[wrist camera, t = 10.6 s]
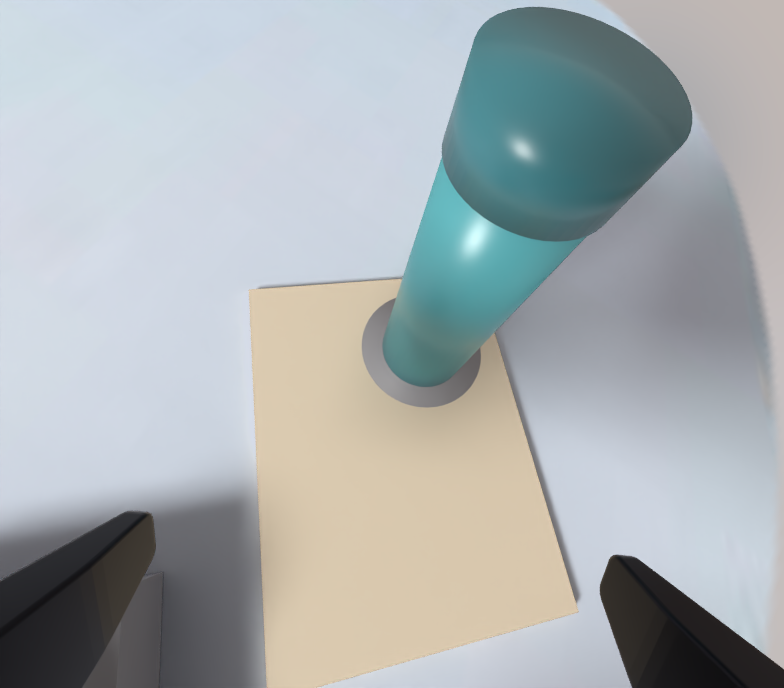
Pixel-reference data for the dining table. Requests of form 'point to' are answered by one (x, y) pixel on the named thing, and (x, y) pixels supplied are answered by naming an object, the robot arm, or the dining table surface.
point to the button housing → (134, 642)
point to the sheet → (387, 495)
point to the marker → (527, 175)
